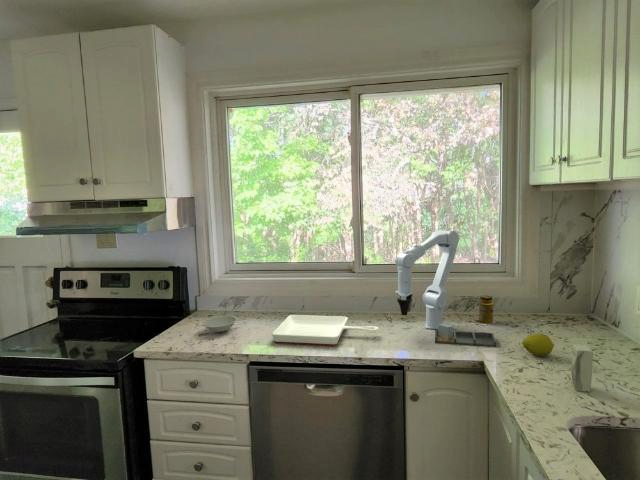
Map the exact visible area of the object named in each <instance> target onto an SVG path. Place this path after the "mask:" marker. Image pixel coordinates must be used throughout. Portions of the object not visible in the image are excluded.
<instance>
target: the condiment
mask: <svg viewBox="0 0 640 480" xmlns="http://www.w3.org/2000/svg"><path fill="white" fill-rule="evenodd" d="M493 319H494V302H493V297H492V296H491V295H480V297H479V303H478V319H476V320H472V322H473V323H475V324H478V325H481V326H487V325H492V324H496V323H497V321H494V320H493Z"/></svg>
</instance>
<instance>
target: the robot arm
mask: <svg viewBox="0 0 640 480" xmlns="http://www.w3.org/2000/svg"><path fill="white" fill-rule="evenodd" d="M459 242H460V237H459V233H458V232H457V231H456V230H442V229H437V230H436V231H434V232H432V234H431V236H429V237H428V238H427V239H426V240H424V241H423V242H422V243H420V244H419V243H417V244H415V243H414V244H413V245H412V247H410V248H409V249H407V250H405V251H404V252H400V253H398V254H397V255H396V257H395V259H394V264H395V265H396V268H397V289H398V290H395V294H398V295H399V297H397V298H396V301H397V303H398V305H399V308H400V312H401V316H408V314H409V313H408V311H409V309H410V303H411V301H412V296H413V286H412V285H413V283H412V282H413V281H412V280H413V279H412V276H413V274H412V272H413V271H412V270H413V269H412V267H414V265H415V264H416V263H415V262H416V261H418V260H419V259H421V258H422V257H424V256H425V254H426V251H428V250H430V249H431V248H433V247H434V246H436V245H437V246H438V247H439V248H440V250H441V251H442V254H441V257H440V260H439V264H438V267H437V269H436V272H435V276H434V279H433V281H432V284H431V285H429V286H428V287H426V289H425V292H424V293H423V295H422V303H423V304H424V306H425V307H426V309H425V310H426V311H425V312H426V313H425V314H426V316H425V318H426V319H425V320H426V321H425V324H424V325H425V326H424V328H425V329H431V330H438V324H442V323H445V322H444V317H443V316H444V315H443V314H444V309H445V307H446V305H447V303H448V302H447V299H448V295H449V294H448V292H447V291H446V289H445V288H446V284H447V281H448V279H449V276H450V272H451V270H452V265H453V263H454V260H455V256H456V253H457V248H458V244H459Z"/></svg>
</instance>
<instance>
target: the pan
mask: <svg viewBox="0 0 640 480" xmlns="http://www.w3.org/2000/svg"><path fill="white" fill-rule="evenodd" d="M348 318H349V317H347V316H341V315H340V316H339V315H337V316H336V315H333V316H332V315H307V314H306V315H304V314H302V315H301V314H291V315H288V316H287V317H286V318H285V319H284V320H283V321H282V322H281V323H280V324H279V325H278V326H277V328H275V330H273V331H272V332H271V334H272V335H271V336H272V338H273V341H274V343H275V344H278V345H279V344H281V345H283V344H285V345H301V346H302V345H303V346H323V347H336V346H337V345H338V342H339V340H340V338H341V336H342V334H343V332H344V330H360V331H367V332H368V331H369V332H376V331H379V329H380V328H379V327H378V326H374V325H369V326H368V325H365V326H350V325H347V323H348Z"/></svg>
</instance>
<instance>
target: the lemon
mask: <svg viewBox="0 0 640 480" xmlns="http://www.w3.org/2000/svg"><path fill="white" fill-rule="evenodd" d="M521 343H522V344H521V345H522V347H523V348H524V349H525V350H526V351H527V352H528V353H530V354H531V355H533V356H535V357H536V356H537V357H546V356H548V355H550V354H551V353H552V352H553V349H554V348H555V344H554V342H553V341H552V340H551V338H550V337H549V336H547V335H546V334H541V333H534V334H530V335H528V336H527V337H526V338H524V339H523V340H522V341H521Z"/></svg>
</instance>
